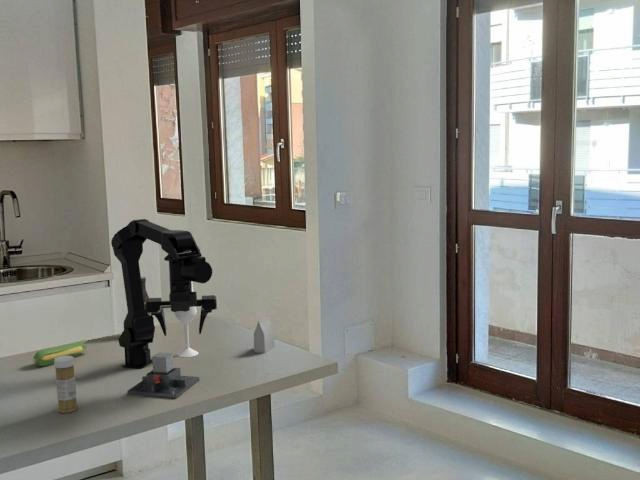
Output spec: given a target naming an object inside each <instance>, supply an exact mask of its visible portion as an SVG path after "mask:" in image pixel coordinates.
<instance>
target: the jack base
mask: <svg viewBox="0 0 640 480" xmlns="http://www.w3.org/2000/svg"><path fill="white" fill-rule="evenodd" d="M198 382H200V376H192V375H191V376H190V375H189V376H188V375H181V368H180V367H174V371H172V372H171V373H170V374H168V375H163V374H153V369H152V370H151V371H149V372H148V373H146V375H143V376H141V381H140V382H138V383H136V385H133V386H132V387H130V388H129V389H127V393H126V394H127V395H129V396H139V395H140V396H141V395H142V396H141V397H151V396H152V398H153V397H154V398H163V397H164V398H165V397H166V399H178V398H179V397H181V396H182V395H183V394H184V393H185V392H187V391H188V390H189V389H190V388H192V387H193V386H194V385H196V384H198Z"/></svg>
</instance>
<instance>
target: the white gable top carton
mask: <svg viewBox="0 0 640 480" xmlns="http://www.w3.org/2000/svg"><path fill="white" fill-rule="evenodd" d="M274 348H275V329H274V326H273V324H272V322H271V319H270V317H269V316H264V318H261V319H259V320H258V321H257V324H256V326H255V329H254V331H253V352H254V353H261V354H266V353H268V352H269V351H271V350H273V349H274Z"/></svg>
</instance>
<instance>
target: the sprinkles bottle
mask: <svg viewBox="0 0 640 480" xmlns="http://www.w3.org/2000/svg"><path fill="white" fill-rule="evenodd" d="M74 358H75V357H72V356H60V357H57V358H55V360H54V364H53V366H54V369H55V384H56V393H57V394H56V395H57V404H58V406H57V407H58V412H59V413H61V414H68V413H73V412H75V411H76V410H78V406H77V386H76V385H77V384H76V377H75V368H74V367H75V359H74Z"/></svg>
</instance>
